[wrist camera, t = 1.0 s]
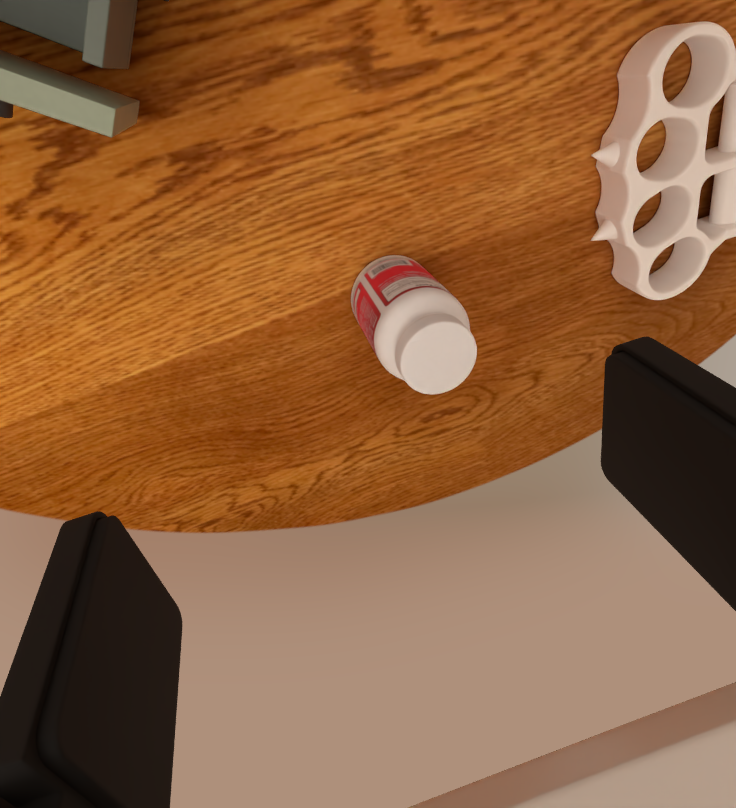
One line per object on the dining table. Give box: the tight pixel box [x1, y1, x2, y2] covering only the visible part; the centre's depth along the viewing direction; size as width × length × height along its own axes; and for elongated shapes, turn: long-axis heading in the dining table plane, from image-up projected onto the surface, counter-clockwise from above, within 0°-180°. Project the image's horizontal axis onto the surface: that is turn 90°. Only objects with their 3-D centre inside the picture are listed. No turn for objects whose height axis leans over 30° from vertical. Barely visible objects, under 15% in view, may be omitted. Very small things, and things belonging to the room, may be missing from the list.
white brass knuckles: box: [591, 22, 736, 300], centre depth 38 cm, size 3×18×15 cm
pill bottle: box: [351, 255, 477, 394], centre depth 35 cm, size 6×6×11 cm
